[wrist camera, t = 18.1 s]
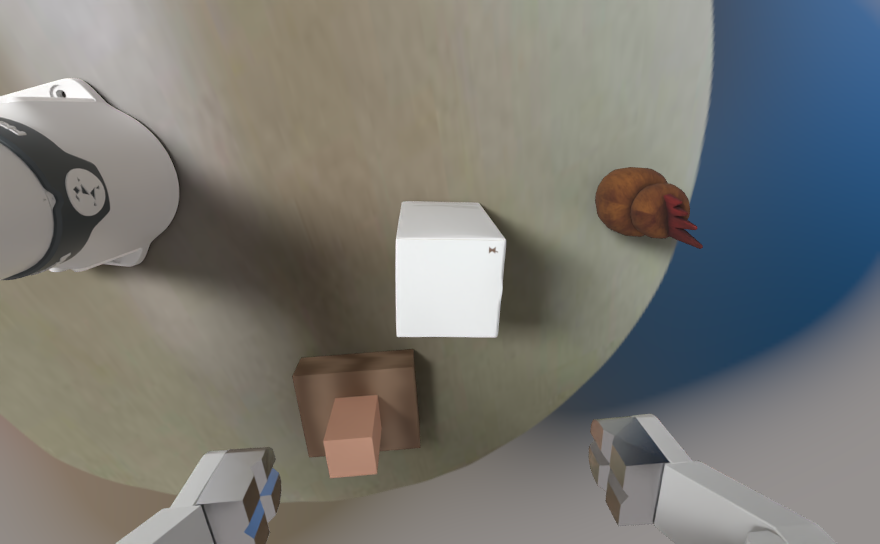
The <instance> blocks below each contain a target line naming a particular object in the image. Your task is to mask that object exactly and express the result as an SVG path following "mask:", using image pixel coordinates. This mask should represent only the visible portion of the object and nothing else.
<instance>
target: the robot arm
mask: <svg viewBox="0 0 880 544" xmlns="http://www.w3.org/2000/svg"><path fill="white" fill-rule="evenodd" d="M63 91H64V92H65V94H66V98H64V97H63V95H62V92H63ZM178 202H179V183H178V178H177V174H176V171H175V168H174V165H173V163H172V161H171V159H170V157H169V155H168V153H167V151H166V150H165V148H164V147H163V145H162V144H161V143H160V142H159V140H158V139H157V138H156V137H155V136H154V135H153V134H152V133H151V132H150V131H149V130H148V129H147V128H146V127H145V126H144V125H142V124H141V123H140V122H138V121H137V120H135V119H134V118H132V117H131V116H129V115H127V114H125V113H123V112H121V111H120V110H118V109H116V108H114V107H112V106H111V105H109V104H108V103H106V102H105V100H104V99H103V98H102V97H101V96H100V95H99V94H98V93H97V92H96V91H95V90H94V89H93V88H92V87H91V86H90V85H88V84H87V83H86V82H85V81H83V80H81V79H78V78H64V79H61V80H57V81H53V82H50V83H46V84H43V85H39V86H36V87H32V88H28V89H25V90H21V91H18V92H14V93H11V94H7V95H3V96H0V280H12V279H17V278H22V277H25V276H28V275H34V274H38V273H41V272H44V271H46V270H50V271H51V272H61V271H66V270H68V269H72V270H73V271H75V272H80V271H85V270H88V269H90V268H93V267H96V266H99V265H101V264H107V265H117V266H126V267H131V266H134V265H137V264H140V263H141V262H142V261H143V260H144V258H145V256H146V254H147V251H148V249H149V246H150V243H151V242H152V241H153V240H154V239H155V238H156V237H157V236H159V235H160V234H161V233H162V232H163V231H164V230H165V229H166V228H167V227H168V226H169V224H170V223H171V221H172V220H173V218H174V216H175V213H176V210H177V207H178ZM591 434H592V436H593V438H594V441H593V442H592V444H591V445H590V446H589V463H590V468H591V471H592V474H593V477H594V479H595V481H596V483H597V485H598V486H599V487H600V488H602V489H603V490H604V491H606V503H607V505H608V507H609V509H610V511H611V513H612V515H613V517H614V519H615V521H616V523H617V525H618V526H626V525H642V524H654V526H655V527H656V528H657V529H659V530H660V531H661V532H662V533H663V534H664V535H666V536H667V537H668V538H669V539H670V540H672V541H673V542H674V543H675V544H837V543H836V542H835V541H834V540H833V539H832V538H831V537H830V536H829V535H828V534H827V533H826V532H825V531H824V530H823V529H822V528H821V527H820V526H819V525H818V524H817V523H815V522H813V521H811V520H809V519H807V518H805V517H804V516H802V515H800V514H798V513H796V512H794V511H792V510H790V509H788V508H786V507H785V506H783V505H781V504H779V503H777V502H775V501H774V500H772V499H770V498H768V497H766V496H764V495H762V494H760V493H758V492H757V491H755V490H753V489H751V488H749V487H747V486H746V485H744V484H742V483H740V482H738V481H736V480H734V479H732V478H730V477H728V476H727V475H725V474H723V473H721V472H719V471H717V470H716V469H714V468H712V467H710V466H708V465H706V464H704V463H702V462H701V461H693V460H692V459H691V458H690V457H689V456H688V454H687V453H686V452H685V451H684V450H683V448H682V447H681V446H680V445H679V444H678V442H677V441H676V440H675V439H674V438H673V436H672V435H671V434H670V433H669V432H668V430H667V429H666V428H665V427H664V426H663V424H662V423H661V422H660V421H659V420H658V419H657V417H656V416H654V415H653V414H644V415H634V416H627V417H616V418H606V419H595V420H593V422H592V424H591ZM275 460H276V458H275V455H274V452H273V449H272V448H270V447H263V448H246V449H230V450H220V451H209V452H207V453H206V454H204V455H203V457H202V458H201V460H200V461H199V463H198V465H197V466H196V468H195V469H194V471H193V472H192V474H191V475H190V477H189V479H188V480H187V482H186V483H185V485H184V486H183V488H182V490H181V491H180V493H179V494H178V496H177V497H176V499H175V501H174V502H173V504H172V505H171V507H170V508H165V509H162V510H161V511H160V512H158V513H157V514H155V515H154V516H152V517H151V518H150V519H148V520H147V521H146V522H144V523H143V524H142V525H140V526H139V527H138V528H136V529H135V530H133V531H132V532H131V533H129V534H128V535H126V536H125V537H124V538H122V539H121V540H120V541H118V542H117V543H116V544H266V542H267V539H268V536H269V533H270V531H269V527H268V522H269V521H270V520H271V519H272V518H273V517H274V516H275V515H276V513H277V510H278V507H279V504H280V498H281V479H280V475H279V473H278V472H277V471H276V470H275V469H273V468H272V467H273V465H274V462H275Z"/></svg>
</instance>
